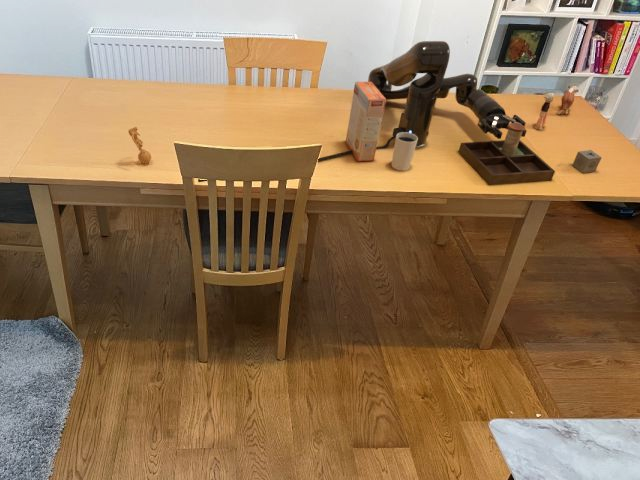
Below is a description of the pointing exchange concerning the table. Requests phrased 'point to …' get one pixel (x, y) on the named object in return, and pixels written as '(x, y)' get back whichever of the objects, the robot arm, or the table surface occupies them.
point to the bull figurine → (568, 98)
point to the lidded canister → (512, 138)
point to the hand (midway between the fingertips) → (512, 135)
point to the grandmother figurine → (544, 111)
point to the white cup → (404, 150)
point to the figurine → (143, 155)
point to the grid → (505, 163)
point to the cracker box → (365, 120)
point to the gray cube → (586, 161)
